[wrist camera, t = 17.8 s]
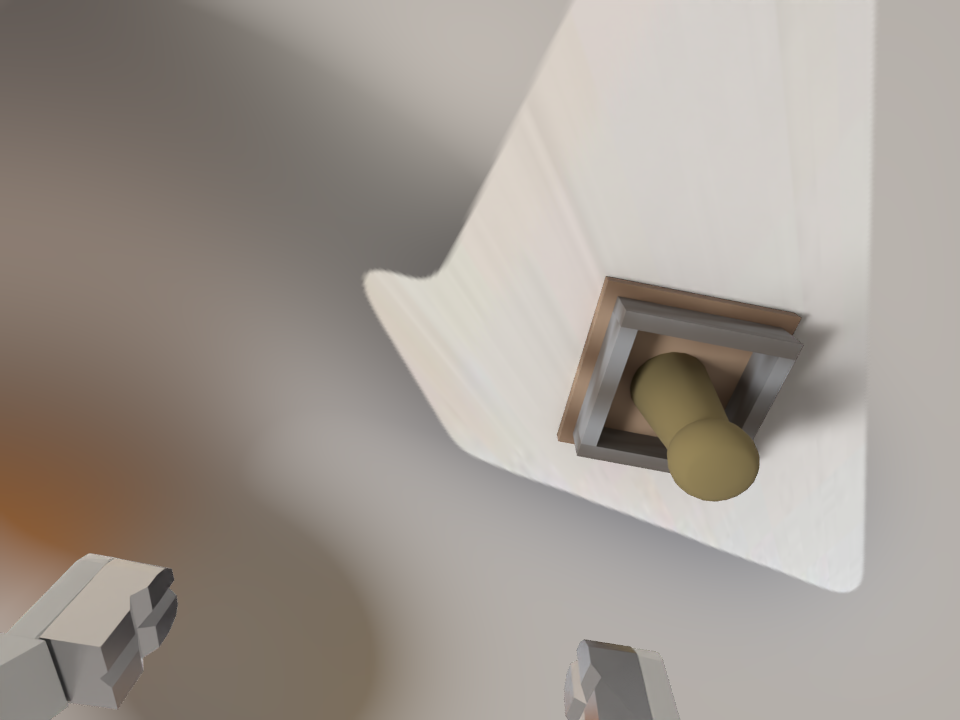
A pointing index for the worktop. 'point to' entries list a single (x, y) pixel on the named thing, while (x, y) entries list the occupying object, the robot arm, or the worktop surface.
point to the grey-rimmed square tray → (662, 329)
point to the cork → (694, 427)
